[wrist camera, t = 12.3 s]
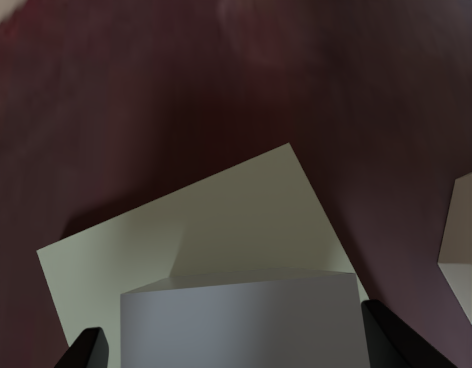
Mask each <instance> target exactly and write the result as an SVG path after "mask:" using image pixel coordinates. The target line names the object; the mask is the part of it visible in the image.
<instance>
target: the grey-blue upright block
mask: <svg viewBox="0 0 472 368" xmlns="http://www.w3.org/2000/svg"><path fill="white" fill-rule="evenodd" d="M120 349H121V368H370V362H369V356H368V349H367V342H366V336H365V329H364V323H363V316H362V310H361V303H360V297H359V290H358V284H357V277H356V273H348V272H337V271H326V270H315V269H304V268H294V267H276V268H264V269H253V270H241V271H230V272H218V273H206V274H195V275H183V276H172V277H167V278H164V279H161V280H158V281H156V282H153V283H150V284H147V285H144V286H142V287H139V288H136V289H133V290H131V291H128V292H125V293H122V294H120Z"/></svg>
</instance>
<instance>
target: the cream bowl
mask: <svg viewBox="0 0 472 368" xmlns="http://www.w3.org/2000/svg"><path fill="white" fill-rule="evenodd" d="M437 264H438V266H439V267H440V269H441V271H442V273H443V274H444V276H445V278H446V280H447V282H448V283H449V285H450V287H451V289H452V290H453V292H454V294H455V296H456V298H457V299H458V301H459V303H460V305H461V306H462V308H463V310H464V312H465V314H466V315H467V317H468V319H469V321H470V322H471V324H472V172H470V173H468V174H466V175H464V176H462V177H460V178H458V179H455V184H454V189H453V193H452V198H451V203H450V207H449V212H448V217H447V221H446V226H445V231H444V235H443V240H442V245H441V249H440V254H439V259H438V263H437Z"/></svg>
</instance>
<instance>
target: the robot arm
mask: <svg viewBox="0 0 472 368" xmlns="http://www.w3.org/2000/svg"><path fill="white" fill-rule="evenodd" d="M361 310H362V316H363V323H364V329H365V336H366V342H367V349H368V356H369V362H370V368H458V367H457V366H455V365H454V364H453V363H452V362H451V361H450V360H448V359H447V358H446V357H445V356H444V355H443V354H441V353H440V352H439V351H438V350H437V349H435V348H434V347H433V346H432V345H431V344H430V343H428V342H427V341H426V340H425V339H424V338H423V337H421V336H420V335H419V334H418V333H417V332H416V331H414V330H413V329H412V328H411V327H410V326H409V325H407V324H406V323H405V322H404V321H403V320H402V319H400V318H399V317H398V316H397V315H396V314H394V313H393V312H392V311H391V310H390V309H389V308H387V307H386V306H385V305H384V304H383V303H382V302H380V301H379V300H377V299H370V300H363V301H362V302H361ZM108 358H109V345H108V342H107V339H106V336H105V334H104V331H103V329H102V328H101V327H90V328H85V329H84V330H83V331H82V332H81V333H80V335H79V336H78V337H77V338H76V340H75V341H74V342H73V344H72V345H71V346H70V347H69V349H68V350H67V351H66V352H65V354H64V355H63V356H62V358H61V359H60V360H59V361H58V363H57V364H56V365H55V367H54V368H107V367H108Z"/></svg>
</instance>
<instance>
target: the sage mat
mask: <svg viewBox="0 0 472 368" xmlns="http://www.w3.org/2000/svg"><path fill="white" fill-rule="evenodd" d="M37 253H38V256H39V259H40V262H41V265H42V268H43V271H44V274H45V277H46V280H47V283H48V286H49V289H50V292H51V295H52V298H53V301H54V304H55V307H56V310H57V312H58V315H59V318H60V321H61V324H62V327H63V330H64V333H65V336H66V339H67V342H68V345H69V347H70V346H71V345H72V344H73V342H74V341H75V340H76V338H77V337H78V336H79V335H80V333H81V332H82V331H83V330H84V329H85V328H90V327H101V328H102V329H103V331H104V334H105V336H106V339H107V342H108V345H109V358H108V367H107V368H121V349H120V294H122V293H125V292H128V291H131V290H133V289H136V288H139V287H142V286H144V285H147V284H150V283H153V282H156V281H158V280H161V279H164V278H167V277H172V276H183V275H195V274H206V273H218V272H230V271H241V270H253V269H264V268H276V267H294V268H304V269H315V270H326V271H337V272H348V273H356V272H355V270H354V268H353V266H352V265H351V263H350V261H349V259H348V257H347V255H346V253H345V251H344V249H343V247H342V245H341V243H340V241H339V239H338V237H337V235H336V233H335V231H334V229H333V228H332V226H331V224H330V222H329V220H328V218H327V216H326V214H325V212H324V210H323V208H322V206H321V204H320V202H319V200H318V198H317V196H316V194H315V192H314V190H313V189H312V187H311V185H310V183H309V181H308V179H307V177H306V175H305V173H304V171H303V169H302V167H301V165H300V163H299V161H298V159H297V157H296V155H295V153H294V152H293V150H292V148H291V146H290V144H289V143H287V144H285V145H283V146H280V147H278V148H276V149H273V150H271V151H269V152H266V153H264V154H262V155H259V156H257V157H255V158H252V159H250V160H247V161H245V162H243V163H240V164H238V165H236V166H233V167H231V168H229V169H226V170H224V171H222V172H219V173H217V174H215V175H212V176H210V177H208V178H205V179H203V180H201V181H198V182H196V183H194V184H191V185H189V186H187V187H184V188H182V189H180V190H177V191H175V192H173V193H170V194H168V195H166V196H163V197H161V198H159V199H156V200H154V201H152V202H149V203H147V204H145V205H142V206H140V207H138V208H135V209H133V210H131V211H128V212H126V213H124V214H121V215H119V216H117V217H114V218H112V219H110V220H107V221H105V222H103V223H100V224H98V225H96V226H93V227H91V228H89V229H86V230H84V231H82V232H79V233H77V234H75V235H72V236H70V237H68V238H65V239H63V240H61V241H58V242H56V243H54V244H51V245H49V246H47V247H44V248H42V249H40V250H37ZM356 277H357V284H358V290H359V297H360V303H361V302H362V301H363V300H369V298H368V296H367V294H366V292H365V290H364V288H363V286H362V284H361V282H360V280H359V278H358V276H357V274H356Z"/></svg>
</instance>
